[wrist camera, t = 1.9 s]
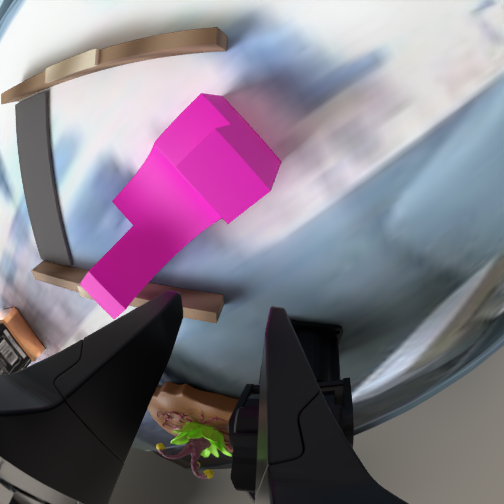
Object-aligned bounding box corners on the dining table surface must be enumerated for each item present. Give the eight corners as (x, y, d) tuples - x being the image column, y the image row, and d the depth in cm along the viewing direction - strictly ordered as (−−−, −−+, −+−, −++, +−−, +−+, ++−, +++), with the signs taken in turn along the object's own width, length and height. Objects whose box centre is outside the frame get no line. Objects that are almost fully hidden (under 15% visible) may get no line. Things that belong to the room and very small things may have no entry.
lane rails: (227, 35, 15) (215, 24, 12) (223, 305, 26) (215, 327, 23) (18, 90, 18) (-2, 93, 15) (46, 268, 29) (33, 281, 26)
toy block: (222, 96, 17) (179, 91, 11) (281, 161, 19) (270, 191, 12) (110, 219, 24) (58, 260, 17) (155, 267, 25) (114, 319, 19)
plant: (269, 446, 42) (260, 499, 32) (170, 428, 45) (152, 474, 36) (271, 393, 32) (257, 472, 23) (136, 369, 36) (103, 430, 26)
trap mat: (48, 91, 18) (45, 91, 17) (73, 264, 27) (71, 266, 27) (18, 104, 18) (15, 104, 18) (43, 257, 28) (41, 259, 27)
